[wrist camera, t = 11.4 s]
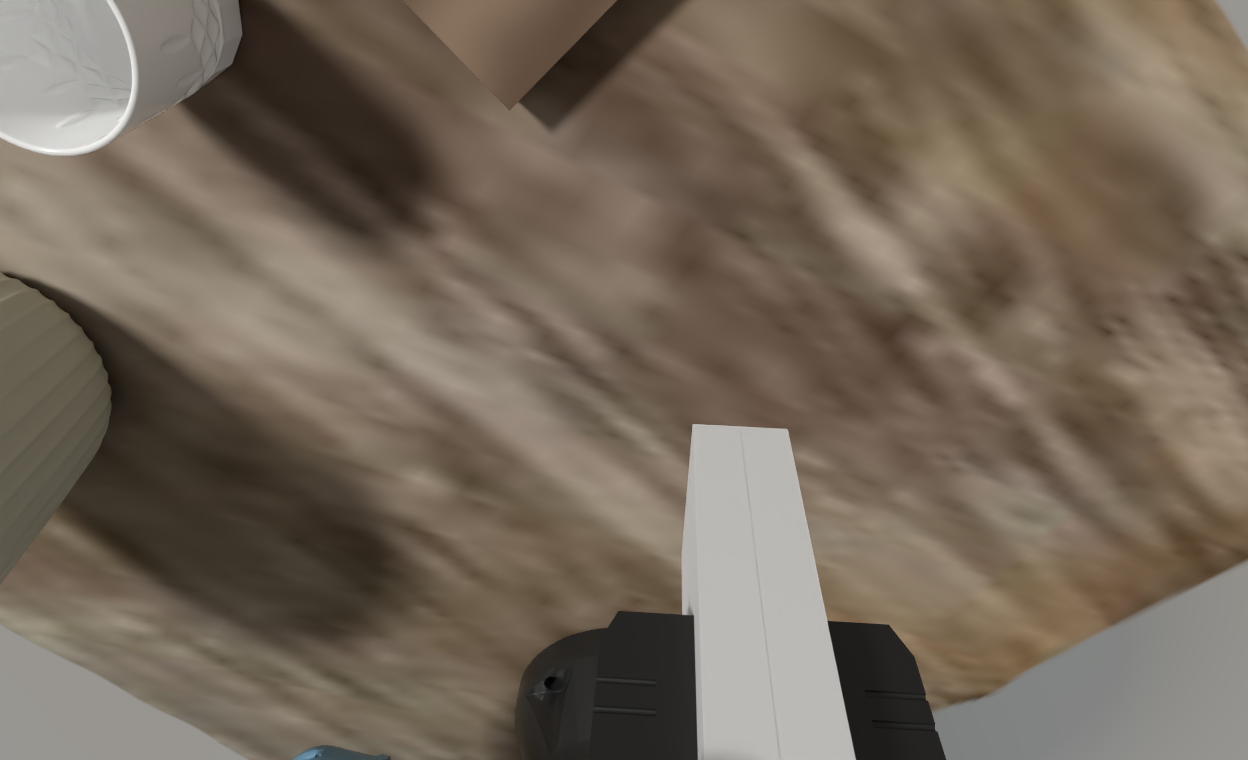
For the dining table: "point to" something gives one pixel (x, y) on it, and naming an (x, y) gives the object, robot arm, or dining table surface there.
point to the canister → (43, 413)
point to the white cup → (104, 66)
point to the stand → (509, 36)
